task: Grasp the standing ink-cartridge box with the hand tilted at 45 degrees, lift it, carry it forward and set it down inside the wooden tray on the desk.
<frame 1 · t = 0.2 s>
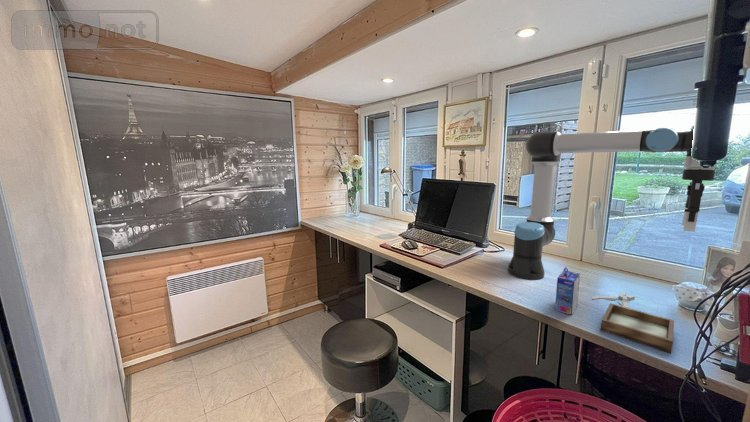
hand: (687, 228, 105), 28 cm above the table, tool pointing down, fingers open, 13 cm apart
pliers: (617, 302, 109), on the table
ink cartridge box: (565, 308, 104), on the table
wooden tray: (636, 330, 90), on the table
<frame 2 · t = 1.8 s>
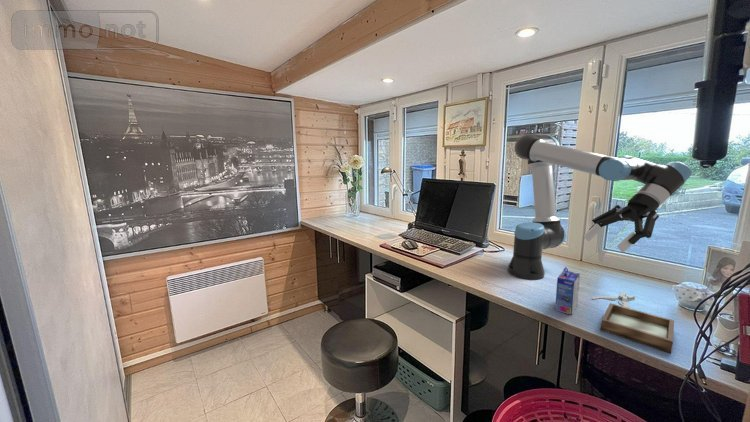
hand: (602, 243, 101), 23 cm above the table, tool tilted 45°, fingers open, 13 cm apart
nothing on the table moved.
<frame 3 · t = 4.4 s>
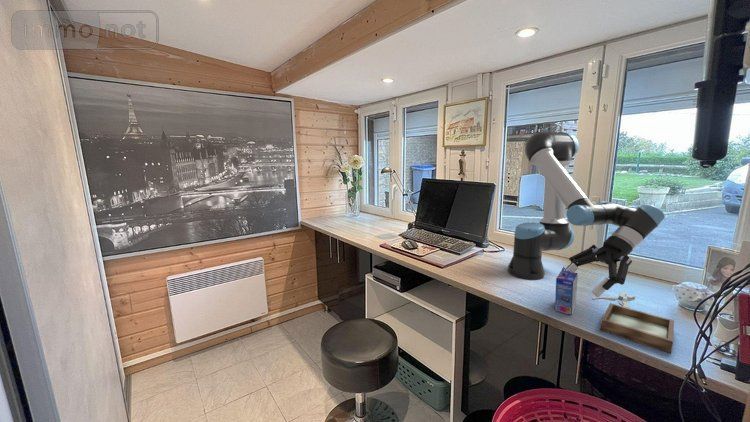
hand: (577, 286, 101), 9 cm above the table, tool tilted 45°, fingers open, 13 cm apart
ink cartridge box: (564, 308, 104), on the table, touching gripper
everything else where it was.
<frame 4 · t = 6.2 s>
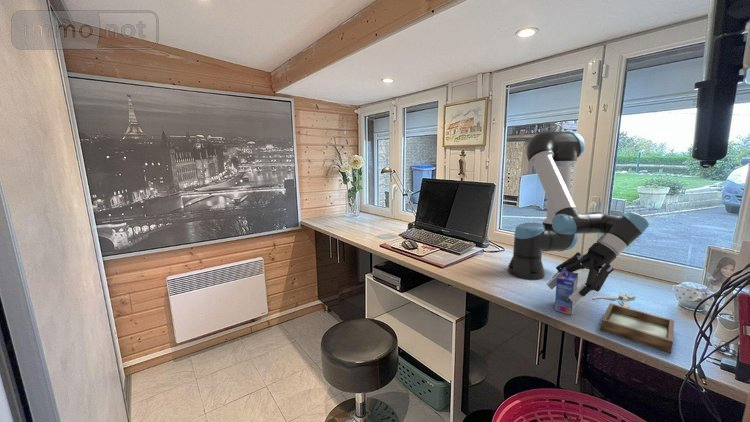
hand: (559, 293, 103), 6 cm above the table, tool tilted 45°, fingers closed on ink cartridge box, 10 cm apart
ink cartridge box: (564, 308, 104), on the table, touching gripper
everything else where it was.
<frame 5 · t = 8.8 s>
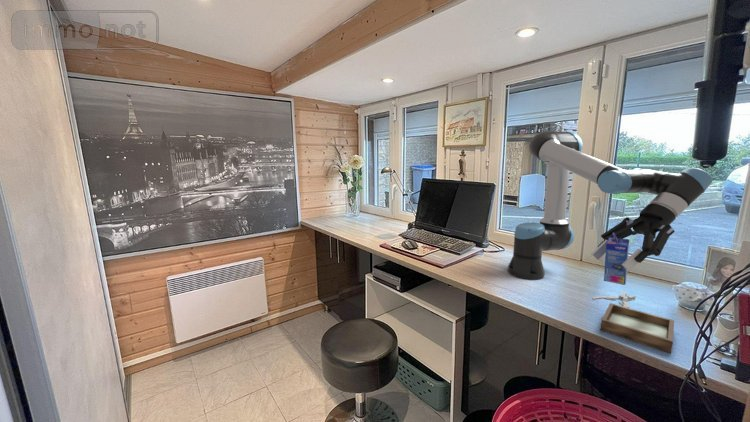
hand: (609, 262, 90), 21 cm above the table, tool tilted 45°, fingers closed on ink cartridge box, 10 cm apart
ink cartridge box: (614, 279, 92), point 15 cm above the table, touching gripper
everything else where it was.
when the fingers open (8 cm above the table, at t = 11.9 s): ink cartridge box drops 1 cm, resting on wooden tray.
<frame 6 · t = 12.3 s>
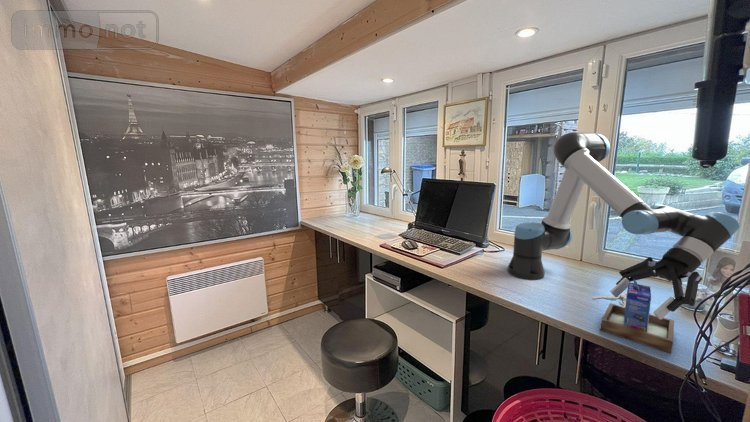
hand: (633, 304, 88), 9 cm above the table, tool tilted 45°, fingers open, 13 cm apart
ink cartridge box: (634, 326, 90), point 1 cm above the table, touching wooden tray
everything else where it was.
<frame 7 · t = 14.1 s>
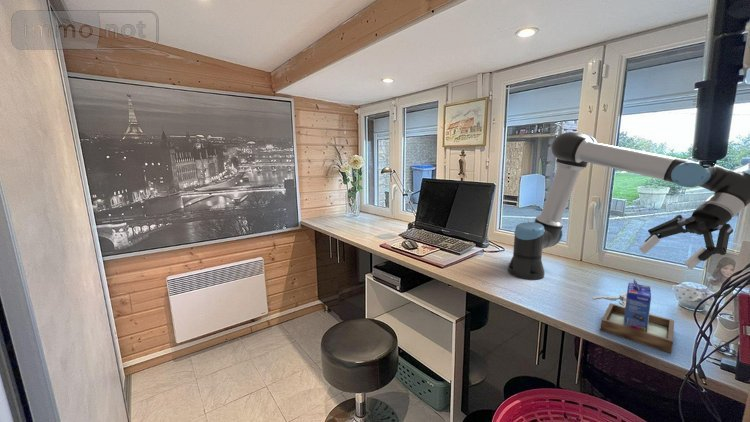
hand: (663, 258, 92), 21 cm above the table, tool tilted 45°, fingers open, 13 cm apart
nothing on the table moved.
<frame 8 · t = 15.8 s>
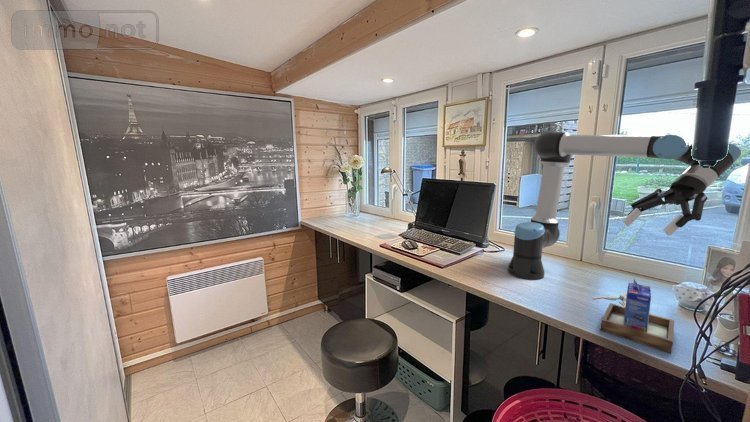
hand: (644, 227, 97), 30 cm above the table, tool tilted 45°, fingers open, 13 cm apart
nothing on the table moved.
at the end: ink cartridge box inside the target area on the wooden tray (0.6 cm from its centre), point 1.0 cm above the wooden tray's base; ink cartridge box tilted 0°; the gripper is holding nothing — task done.
